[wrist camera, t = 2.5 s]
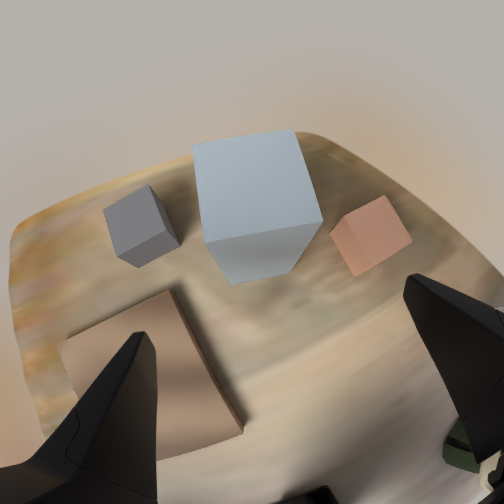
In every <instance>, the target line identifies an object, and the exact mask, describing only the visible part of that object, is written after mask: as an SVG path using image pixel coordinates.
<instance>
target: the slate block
mask: <svg viewBox="0 0 504 504" xmlns="http://www.w3.org/2000/svg"><path fill="white" fill-rule="evenodd" d="M192 149H193V159H194V168H195V176H196V185H197V193H198V201H199V208H200V216H201V223H202V230H203V237H204V243H205V245H206V246H207V248H208V250H209V251H210V253H211V255H212V256H213V258H214V259H215V261H216V263H217V264H218V266H219V268H220V269H221V271H222V272H223V274H224V276H225V277H226V279H227V280H228V282H229V283H230V285H233V284H238V283H243V282H249V281H254V280H259V279H264V278H269V277H274V276H279V275H284V274H289V273H290V272H291V270H292V269H293V267H294V266H295V264H296V263H297V261H298V259H299V258H300V256H301V255H302V253H303V252H304V250H305V249H306V247H307V246H308V244H309V243H310V241H311V240H312V238H313V236H314V235H315V233H316V232H317V230H318V229H319V227H320V225H321V224H322V222H323V218H322V215H321V211H320V208H319V205H318V201H317V198H316V195H315V192H314V188H313V185H312V182H311V179H310V176H309V173H308V170H307V167H306V164H305V161H304V158H303V155H302V152H301V149H300V146H299V144H298V141H297V138H296V135H295V132H294V130H293V129H291V130H282V131H274V132H267V133H259V134H252V135H246V136H240V137H234V138H228V139H222V140H217V141H212V142H207V143H202V144H197V145H193V146H192Z"/></svg>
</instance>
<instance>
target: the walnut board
mask: <svg viewBox="0 0 504 504" xmlns="http://www.w3.org/2000/svg"><path fill="white" fill-rule="evenodd" d="M138 331H145V332H146V333H147V334H148V336H149V338H150V340H151V341H152V343H153V345H154V347H155V350H156V363H157V385H158V402H157V428H156V461H158V460H162V459H166V458H170V457H174V456H178V455H181V454H185V453H188V452H191V451H195V450H198V449H201V448H204V447H207V446H210V445H213V444H216V443H219V442H222V441H224V440H227V439H230V438H233V437H235V436H238V435H240V434H243V429H244V427H243V426H242V424H241V423H240V421H239V419H238V418H237V416H236V414H235V412H234V411H233V409H232V407H231V406H230V404H229V402H228V400H227V399H226V397H225V395H224V393H223V391H222V390H221V388H220V386H219V384H218V382H217V381H216V379H215V377H214V375H213V373H212V371H211V369H210V367H209V365H208V364H207V362H206V360H205V358H204V356H203V354H202V352H201V350H200V348H199V346H198V344H197V342H196V340H195V338H194V336H193V334H192V332H191V329H190V327H189V325H188V323H187V321H186V319H185V317H184V315H183V312H182V310H181V308H180V306H179V304H178V301H177V299H176V297H175V295H174V292H173V291H172V290H169V289H167V290H165V291H163V292H161V293H159V294H157V295H155V296H153V297H151V298H149V299H147V300H145V301H143V302H141V303H139V304H137V305H135V306H133V307H131V308H129V309H127V310H125V311H123V312H121V313H119V314H117V315H115V316H113V317H111V318H109V319H107V320H105V321H103V322H101V323H99V324H97V325H95V326H93V327H91V328H89V329H87V330H85V331H83V332H81V333H79V334H77V335H75V336H73V337H71V338H69V339H67V340H65V341H63V342H61V343H59V344H57V347H58V350H59V353H60V355H61V358H62V361H63V363H64V366H65V369H66V371H67V374H68V376H69V379H70V381H71V383H72V386H73V388H74V390H75V392H76V395H77V397H78V399H79V400H80V398H81V397H82V396H83V394H84V393H85V392H86V390H87V389H88V388H89V387H90V385H91V384H92V383H93V381H94V380H95V379H96V378H97V376H98V375H99V374H100V373H101V371H102V370H103V369H104V368H105V366H106V365H107V364H108V363H109V361H110V360H111V359H112V358H113V356H114V355H115V354H116V353H117V351H118V350H119V349H120V348H121V346H122V345H123V344H124V343H125V342H126V340H127V339H128V338H129V337H130V336H131V334H132V333H133V332H138Z"/></svg>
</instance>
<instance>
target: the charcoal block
mask: <svg viewBox="0 0 504 504" xmlns="http://www.w3.org/2000/svg"><path fill="white" fill-rule="evenodd" d="M103 211H104V215H105V219H106V223H107V226H108V230H109V233H110V237H111V240H112V243H113V247H114V250H115V253H116V256H117V257H118V258H120V259H122V260H124V261H126V262H128V263H130V264H132V265H133V266H135V267H137V268H139V267H141V266H143V265H145V264H147V263H149V262H151V261H153V260H155V259H157V258H158V257H160V256H162V255H164V254H166V253H168V252H170V251H172V250H174V249H176V248H178V247H180V243H179V241H178V239H177V236H176V234H175V232H174V229H173V227H172V224H171V222H170V220H169V217H168V215H167V212H166V210H165V207H164V205H163V204H162V203H161V201H160V200H159V198H158V197H157V196H156V194H155V193H154V191H153V190H152V189H151V187H150V186H149V184H148V185H146V186H144V187H142V188H141V189H139V190H137V191H135V192H133V193H131V194H130V195H128V196H126V197H124V198H122V199H121V200H119V201H117V202H115V203H114V204H112V205H110V206H109V207H107V208H105V209H104V210H103Z"/></svg>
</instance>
